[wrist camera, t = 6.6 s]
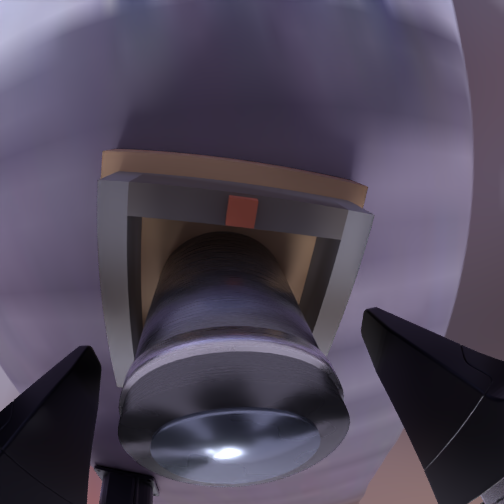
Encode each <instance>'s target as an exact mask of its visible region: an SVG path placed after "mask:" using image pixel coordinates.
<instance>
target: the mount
mask: <svg viewBox="0 0 504 504" xmlns="http://www.w3.org/2000/svg"><path fill="white" fill-rule="evenodd" d="M367 189H368V187H367V186H365V185H362V184H360V183H357V182H354V181H352V180H348V179H343V178H339V177H334V176H330V175H325V174H320V173H315V172H310V171H305V170H300V169H294V168H289V167H283V166H277V165H272V164H265V163H259V162H252V161H246V160H239V159H231V158H223V157H215V156H207V155H198V154H188V153H177V152H165V151H151V150H133V149H112V150H106V151H103V154H102V167H101V179H99V180H98V184H97V242H98V262H99V276H100V287H101V297H102V305H103V313H104V320H105V327H106V334H107V340H108V345H109V351H110V356H111V361H112V366H113V371H114V376H115V380H116V384H117V387H121V388H123V384H124V380H125V377H126V375H127V372H128V370H129V368H130V367H131V365H132V364H133V362H134V359H135V356H136V352H137V349H138V345H139V341H140V338H141V335H142V331H143V328H144V324H145V321H146V318H147V315H148V311H149V308H150V305H151V302H152V299H153V296H154V293H155V290H156V287H157V284H158V281H159V278H160V275H161V272H162V269H163V267H164V265H165V262H166V261H167V259H168V258H169V256H170V255H171V254H172V253H173V251H174V250H175V249H176V248H178V247H179V246H180V245H181V244H183V243H184V242H186V241H187V240H189V239H191V238H193V237H195V236H198V235H201V234H204V233H209V232H216V231H229V232H236V233H240V234H243V235H247V236H249V237H251V238H253V239H255V240H257V241H258V242H260V243H262V244H263V245H264V246H265V247H266V248H268V249H269V250H270V252H271V253H272V254H273V255H274V256H275V258H276V260H277V261H278V263H279V265H280V267H281V269H282V271H283V273H284V275H285V278H286V280H287V282H288V284H289V286H290V288H291V290H292V292H293V294H294V296H295V298H296V300H297V303H298V305H299V307H300V309H301V311H302V313H303V315H304V317H305V319H306V322H307V324H308V326H309V328H310V330H311V332H312V334H313V336H314V339H315V341H316V343H317V345H318V347H319V349H320V351H321V352H322V353H323V354H324V355H325V356H326V357H327V354H328V352H329V350H330V347H331V345H332V342H333V340H334V337H335V335H336V332H337V329H338V327H339V324H340V322H341V319H342V316H343V314H344V311H345V308H346V305H347V302H348V300H349V297H350V294H351V291H352V288H353V285H354V282H355V279H356V276H357V273H358V270H359V267H360V264H361V260H362V257H363V254H364V251H365V247H366V244H367V240H368V237H369V233H370V230H371V226H372V222H373V219H374V215H373V214H372V213H370V212H368V211H367V210H365V209H363V206H364V202H365V198H366V193H367Z"/></svg>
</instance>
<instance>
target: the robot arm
mask: <svg viewBox="0 0 504 504" xmlns="http://www.w3.org/2000/svg"><path fill="white" fill-rule="evenodd" d="M361 334H362V337H363V340H364V342H365V345H366V347H367V350H368V352H369V355H370V357H371V360H372V362H373V365H374V368H375V370H376V372H377V374H378V376H379V378H380V380H381V382H382V384H383V386H384V388H385V390H386V392H387V394H388V396H389V398H390V400H391V402H392V404H393V406H394V408H395V410H396V412H397V414H398V416H399V418H400V420H401V422H402V424H403V426H404V428H405V430H406V432H407V434H408V436H409V438H410V440H411V442H412V445H413V447H414V449H415V451H416V453H417V455H418V457H419V460H420V462H421V464H422V466H423V469H424V470H425V474H426V476H427V478H428V481H429V483H430V485H431V487H432V490H433V492H434V495H435V497H436V499H437V502H438V504H468V503H470V502H471V501H473V500H474V499H476V498H477V497H479V496H481V497H482V499H483V502H482V503H481V504H504V361H502V360H498V359H495V358H493V357H490V356H487V355H485V354H482V353H479V352H477V351H474V350H472V349H470V348H468V347H465V346H463V345H460V344H459V343H456V342H454V341H452V340H450V339H447V338H445V337H443V336H441V335H438V334H436V333H434V332H431V331H429V330H427V329H425V328H422V327H420V326H418V325H416V324H413V323H411V322H409V321H407V320H404V319H402V318H400V317H398V316H395V315H393V314H391V313H389V312H386V311H384V310H382V309H380V308H377V307H374V308H369V309H366V310H365V311H364V314H363V320H362V327H361ZM100 379H101V364H100V362H99V360H98V358H97V356H96V354H95V352H94V350H93V348H92V347H91V346H79V347H78V348H76V349H75V350H74V351H73V352H71V353H70V354H69V355H68V356H66V357H65V358H64V359H63V360H62V361H60V362H59V363H58V364H57V365H55V366H54V367H53V368H52V369H51V370H49V371H48V372H47V373H46V374H44V375H43V376H42V377H41V378H40V379H38V380H37V381H36V382H35V383H34V384H32V385H31V386H30V387H29V388H28V389H26V390H25V391H24V392H23V393H22V394H21V395H19V396H18V397H17V398H16V399H15V400H14V402H11V403H10V404H9V405H8V406H7V407H6V408H4V409H3V410H2V411H1V412H0V504H87V492H88V478H89V468H90V459H91V450H92V443H93V436H94V429H95V423H96V417H97V410H98V402H99V390H100ZM94 470H95V471H96V473H97V474H98V476H99V477H100V478H101V480H102V487H101V493H100V501H99V504H153V496H159V491H158V488H157V485H156V482H155V479H154V478H153V477H151V476H145V475H139V474H133V473H128V472H122V471H118V470H113V469H108V468H104V467H100V466H94Z"/></svg>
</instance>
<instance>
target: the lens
mask: <svg viewBox="0 0 504 504" xmlns="http://www.w3.org/2000/svg"><path fill="white" fill-rule="evenodd" d="M343 401H344V395H343V389H342V386H341V384H340V381H339V379H338V377H337V375H336V373H335V371H334V369H333V367H332V365H331V363H330V362H329V360H328V359H327V357H326V356H325V355H324V354H323V353H322V352H321V351H320V349H319V347H318V345H317V343H316V341H315V339H314V336H313V334H312V332H311V330H310V328H309V326H308V324H307V322H306V319H305V317H304V315H303V313H302V311H301V309H300V307H299V305H298V303H297V300H296V298H295V296H294V294H293V292H292V290H291V288H290V286H289V284H288V282H287V280H286V278H285V275H284V273H283V271H282V269H281V267H280V265H279V263H278V261H277V260H276V258H275V256H274V255H273V254H272V253H271V252H270V250H269V249H268V248H266V247H265V246H264V245H263V244H262V243H260V242H258V241H257V240H255V239H253V238H251V237H249V236H247V235H243V234H240V233H236V232H229V231H216V232H209V233H204V234H201V235H198V236H195V237H193V238H191V239H189V240H187V241H186V242H184V243H183V244H181V245H180V246H179V247H178V248H176V249H175V250H174V251H173V253H172V254H171V255H170V256H169V258H168V259H167V261H166V262H165V265H164V267H163V269H162V272H161V275H160V278H159V281H158V284H157V287H156V290H155V293H154V296H153V299H152V302H151V305H150V308H149V311H148V315H147V318H146V321H145V324H144V328H143V331H142V335H141V338H140V341H139V345H138V349H137V352H136V356H135V359H134V362H133V364H132V365H131V367H130V368H129V370H128V372H127V375H126V377H125V380H124V384H123V388H122V392H121V396H120V400H119V412H120V421H119V426H118V437H119V441H120V443H121V445H122V447H123V448H124V450H125V451H126V452H127V454H128V455H129V456H130V457H131V458H133V459H134V460H135V461H136V462H137V463H139V464H140V465H142V466H143V467H145V468H147V469H148V470H150V471H152V472H154V473H156V474H159V475H161V476H164V477H166V478H169V479H172V480H176V481H179V482H184V483H188V484H194V485H200V486H210V487H240V486H250V485H257V484H262V483H267V482H272V481H276V480H279V479H283V478H286V477H289V476H291V475H294V474H296V473H299V472H301V471H303V470H305V469H307V468H309V467H311V466H313V465H315V464H316V463H318V462H320V461H321V460H323V459H324V458H325V457H327V456H328V455H329V454H330V453H332V452H333V451H334V450H335V449H336V448H337V447H338V446H339V445H340V443H341V442H342V441H343V439H344V438H345V436H346V434H347V432H348V429H349V424H350V417H349V413H348V411H347V408H346V406H345V404H344V402H343Z"/></svg>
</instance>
